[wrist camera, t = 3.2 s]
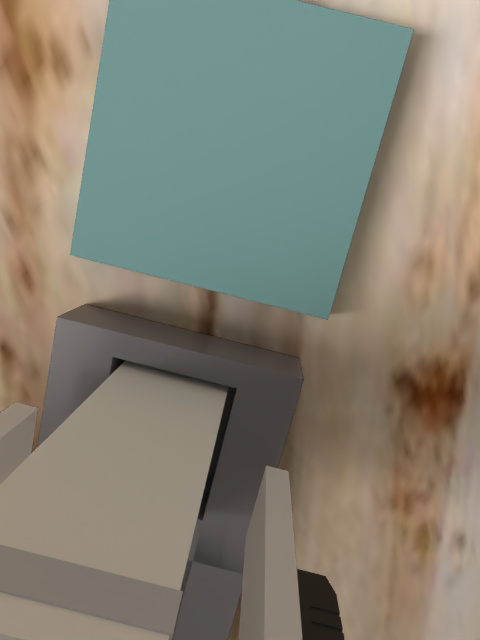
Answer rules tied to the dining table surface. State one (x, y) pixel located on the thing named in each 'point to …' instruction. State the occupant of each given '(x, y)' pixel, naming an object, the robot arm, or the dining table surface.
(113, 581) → the block
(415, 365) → the dining table surface
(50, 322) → the dining table surface
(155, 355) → the power strip
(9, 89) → the dining table surface
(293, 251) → the pad
